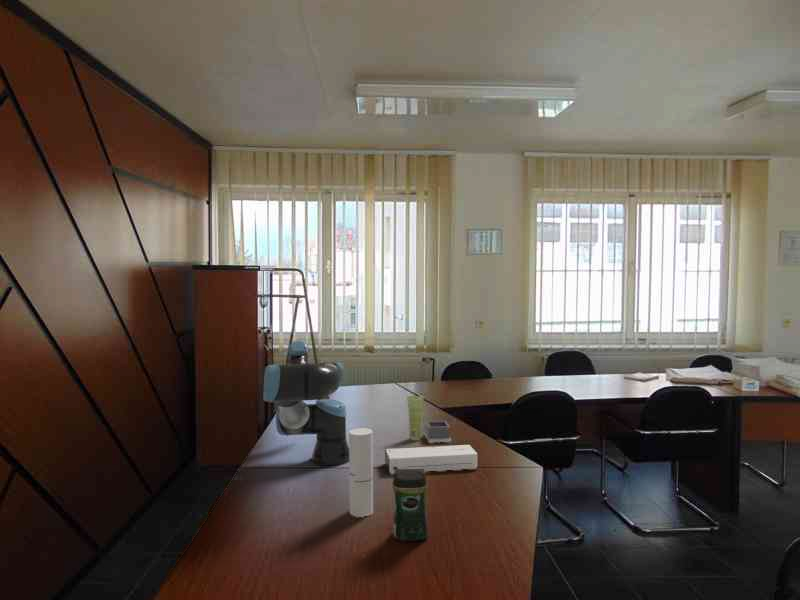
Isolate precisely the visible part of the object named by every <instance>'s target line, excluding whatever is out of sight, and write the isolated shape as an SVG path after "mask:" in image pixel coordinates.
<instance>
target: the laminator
mask: <svg viewBox="0 0 800 600" xmlns="http://www.w3.org/2000/svg"><path fill="white" fill-rule="evenodd" d="M384 461H385V463H386V467H387V469H388V473H389V475H394V473H395V470H396V469H424V471H425V473H430V472H429V471H437V472H447V471H446V470H453V471H463V470H462V469H469V470H477V469H478V467H479V453H478V452H477V450H475V449H474V447H473V446H472V445H471V444H459V445H457V444H456V445H455V444H454V445H440V446H439V445H438V446H422V447H406V448H405V447H403V448H402V447H401V448H386V449H384ZM427 471H428V472H427Z"/></svg>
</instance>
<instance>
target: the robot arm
mask: <svg viewBox="0 0 800 600" xmlns="http://www.w3.org/2000/svg"><path fill="white" fill-rule="evenodd" d="M308 351H309V349H308V345H307V343H306V342H304V341H302V340H295V341H293V342H291V343H290V344H289V346H288V354H289V355H288V364H278V363H275V364H269V365H267V366H265V368H264V377H263V378H264V379H263V394H262V395H263V397H262V398H263V401H264V402H268V403H274V404H275V405H276V406H278V407H277V409H276V412H275V426H276V432H277V433H278V434H279V435H280V436H285V437H286V436H287V437H288V436H297V435H298V436H300V435H301V436H303V435H316V440H315V441H316V442H315V444H314V448H313V451H312V455H311V457H312V459H311V460H312V463H314V464H316V465H319V466H325V465H326V467H327V465H328V466H329V467H330V466H332V467H333V466H339V465H342V464H346V463H348V462H349V443H348V441H347V424H346V417H347V411H346V405H345V404H344V403H343V402H342V401H340V400H336V399H330V398H329V399H323V400H321V398H324V397H326V396H330V395H332V394H334V393H336V392H337V390H338V389H339V388H340V386H341V384H342V381H344V363H342V362H320V363H319V362H318V363H317V362H313V363H312V362H311V363H309V353H308ZM304 401H316V402H315V404H313V403H310V404H309V403H308V404H307V403H306V402H304Z"/></svg>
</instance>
